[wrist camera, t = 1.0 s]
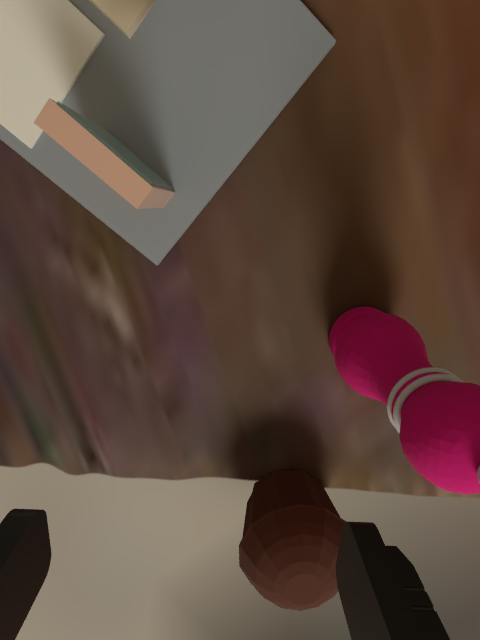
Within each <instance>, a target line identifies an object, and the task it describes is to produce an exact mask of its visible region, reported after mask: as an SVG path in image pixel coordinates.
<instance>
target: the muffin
mask: <svg viewBox="0 0 480 640" xmlns="http://www.w3.org/2000/svg"><path fill="white" fill-rule="evenodd" d="M345 522H346V521H344V520H343V519H341V518H340V516H339V514H338V512H337V511H336V509H335V507H334V505H333V503H332V502H331V500H330V498H329V496H328V495H327V493H326V491H325V489H324V487H323V486H322V484H321V482H320V481H319V480H317V479H315V478H313V477H311V476H309V475H307V474H306V473H305V472H303V471H302V470H300V469H298V470H289V471H283V470H275V471H273V472H272V473H271V474H269V475H268V476H267V477H265V478H263V479H261V480H260V481H258V482H256V483H255V484H254V488H253V492H252V494H251V496H250V498H249V500H248V502H247V509H246V516H245V523H244V531H243V538H242V540H241V542H240V545H239V560H240V561H239V563H240V567H241V569H242V571H243V572H244V574H245V575H246V577H247V578H248V580H249V581H250V583H251V584H252V585H253V586H254V587H255V588H256V590H257V591H258V592H259V593H260V594H261V595H262V596H263V597H264V598H265V599H267V600H269V601H271V602H272V603H274V604H275V605H277V606H279V607H281V608H285V609H293V610H299V611H301V610H306V609H310V608H315V607H319V606H320V605H322V604H323V603H325V602H326V601H328V600H329V599H331V598H332V597H334V596H335V595H336V593H337V592H338V587H337V580H336V560H337V555H338V550H339V544H340V539H341V534H342V529H343V525H344V523H345Z"/></svg>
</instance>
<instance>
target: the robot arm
mask: <svg viewBox="0 0 480 640" xmlns="http://www.w3.org/2000/svg"><path fill="white" fill-rule="evenodd" d="M50 561H51V546H50V539H49V531H48V524H47V516H46V512H45V511H44V510H33V509H13V510H11V511H10V512H9V513H8V514H7V515H6V517H5V518H4V519H3V521H2V522H1V523H0V640H15V639H16V637H17V634H18V633H19V630H20V629H21V627H22V625H23V623H24V620H25V619H26V617H27V615H28V613H29V611H30V609H31V606H32V605H33V603H34V601H35V599H36V596H37V595H38V593H39V591H40V589H41V587H42V585H43V583H44V580H45V578H46V576H47V573H48V570H49V566H50ZM336 580H337V587H338V591H339V595H340V599H341V602H342V606H343V610H344V614H345V617H346V621H347V625H348V628H349V631H350V636H351V639H352V640H450V639H449V636H448V634H447V633H446V630H445V628H444V626H443V624H442V622H441V620H440V618H439V616H438V614H437V612H436V611H434V608H433V607H434V606H433V604H432V602H431V600H430V598H429V596H428V594H427V592H425V590H424V586H423V584H422V582H421V580H420V578H419V576H418V574H417V572H416V570H415V568H414V566H413V564H412V563H411V562H410V561H409V560H408V559H407V558H406V557H405V555H404V554H403V553H402V552H401V551H400V550H399V549H398V548H397V547H396V546H385V544H384V542H383V540H382V538H381V535H380V533H379V531H378V529H377V527H376V525H375V524H374V523H368V522H366V523H365V522H345V523H344V525H343V529H342V534H341V539H340V544H339V550H338V555H337V560H336Z"/></svg>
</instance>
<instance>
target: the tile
mask: <svg viewBox="0 0 480 640" xmlns="http://www.w3.org/2000/svg"><path fill="white" fill-rule="evenodd" d="M34 123H35V124H36V125H37V126H38V127H39V128H41V129H42V130H43V131H44V132H45V133H47V134H48V135H49V136H50V137H51V138H53V139H54V140H55V141H56V142H57V143H59V144H60V145H61V146H62V147H63V148H65V149H66V150H67V151H68V152H69V153H71V154H72V155H73V156H74V157H75V158H76V159H78V160H79V161H80V162H81V163H82V164H84V165H85V166H86V167H87V168H88V169H90V170H91V171H92V172H93V173H94V174H96V175H97V176H98V177H99V178H100V179H102V180H103V181H104V182H105V183H106V184H108V185H109V186H110V187H111V188H112V189H113V190H115V191H116V192H117V193H118V194H119V195H121V196H122V197H123V198H124V199H125V200H127V201H128V202H129V203H130V204H131V205H133V206H134V207H135V208H136V209H149V208H164V206H165V205H166V204H167V203H168V201H169V200H170V199H171V197H172V196H173V195H174V193H175V192H174V191H173V190H172V189H173V188H172V187H171V186H170V185H169V184H167V183H166V182H165V181H164V180H163V179H162V178H161V177H159V176H158V175H157V174H156V173H155V172H154V171H153V170H151V169H150V168H149V167H148V166H147V165H146V164H145V163H143V162H142V161H141V160H140V159H139V158H138V157H137V156H136V155H134V154H133V153H132V152H131V151H130V150H129V149H128V148H126V147H125V146H124V145H123V144H122V143H121V142H120V141H118V140H117V139H116V138H115V137H114V136H113V135H112V134H110V133H109V132H108V131H107V130H105V129H104V128H102V127H100V126H99V125H97V124H95V123H94V122H92V121H90V120H89V119H87V118H85V117H84V116H82V115H80V114H79V113H77V112H75V111H74V110H72V109H70V108H69V107H67V106H65V105H64V104H62V103H60V102H59V101H58V102H55V101H54V100H52V99H50V98H49V99H48V101H47V102H46V104H45V105H44V107H43V109H42V110H41V112H40V113H39V115H38V116H37V118H36V120H35V121H34Z"/></svg>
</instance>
